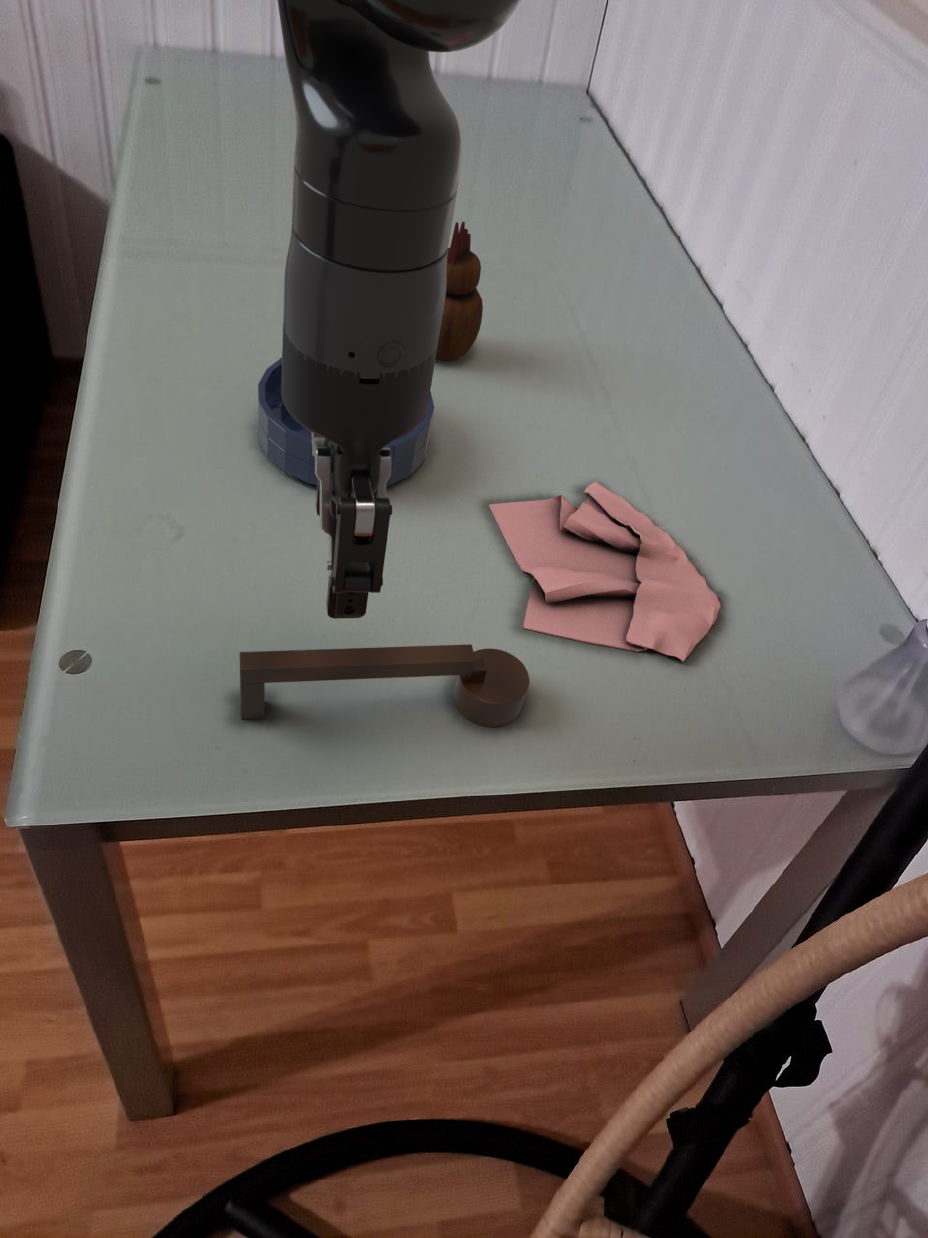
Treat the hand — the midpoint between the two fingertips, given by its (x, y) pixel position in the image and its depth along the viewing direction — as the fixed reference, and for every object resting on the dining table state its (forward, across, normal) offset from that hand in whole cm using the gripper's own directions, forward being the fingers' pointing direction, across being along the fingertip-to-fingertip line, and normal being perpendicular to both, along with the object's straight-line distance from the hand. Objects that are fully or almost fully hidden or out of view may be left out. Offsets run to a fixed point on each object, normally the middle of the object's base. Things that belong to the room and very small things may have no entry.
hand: (339, 561), depth 58 cm
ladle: (+15, 0, +4) cm, 15 cm away
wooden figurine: (+15, -46, +16) cm, 51 cm away
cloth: (+15, -14, +25) cm, 32 cm away
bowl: (+14, -31, +4) cm, 34 cm away
